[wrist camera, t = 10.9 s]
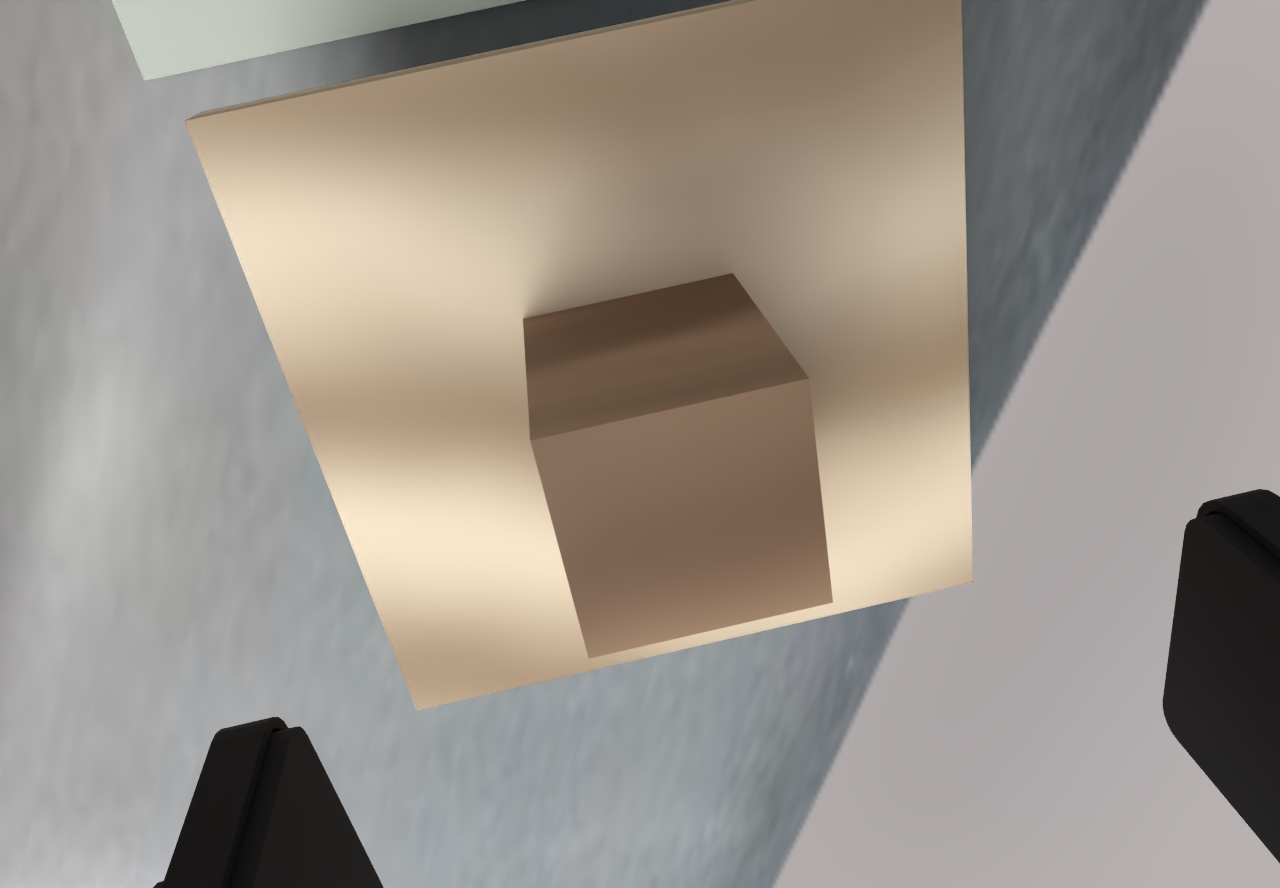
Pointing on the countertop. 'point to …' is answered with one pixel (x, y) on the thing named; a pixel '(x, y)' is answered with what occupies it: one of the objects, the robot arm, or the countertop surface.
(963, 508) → the lid
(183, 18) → the mat
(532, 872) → the countertop surface
